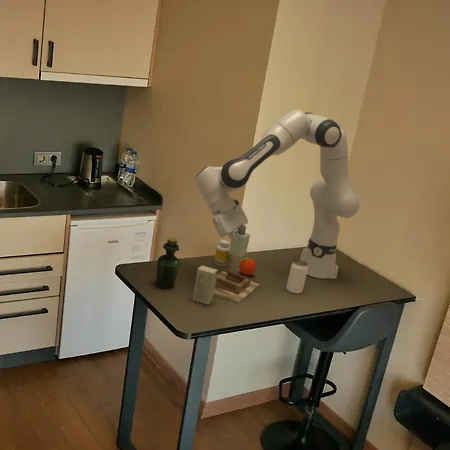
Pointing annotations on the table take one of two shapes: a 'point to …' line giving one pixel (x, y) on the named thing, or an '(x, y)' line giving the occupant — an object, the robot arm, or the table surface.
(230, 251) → the sage bottle
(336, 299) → the table surface
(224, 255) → the supplement bottle
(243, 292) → the u rest
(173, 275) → the potion bottle
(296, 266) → the can
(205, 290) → the skincare box
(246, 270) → the clementine
